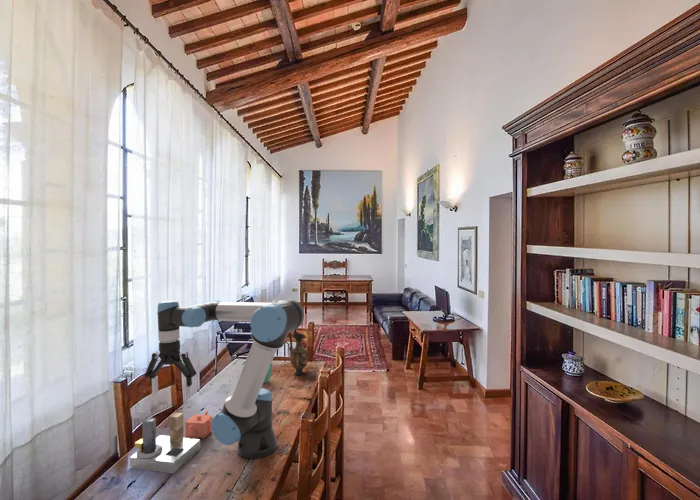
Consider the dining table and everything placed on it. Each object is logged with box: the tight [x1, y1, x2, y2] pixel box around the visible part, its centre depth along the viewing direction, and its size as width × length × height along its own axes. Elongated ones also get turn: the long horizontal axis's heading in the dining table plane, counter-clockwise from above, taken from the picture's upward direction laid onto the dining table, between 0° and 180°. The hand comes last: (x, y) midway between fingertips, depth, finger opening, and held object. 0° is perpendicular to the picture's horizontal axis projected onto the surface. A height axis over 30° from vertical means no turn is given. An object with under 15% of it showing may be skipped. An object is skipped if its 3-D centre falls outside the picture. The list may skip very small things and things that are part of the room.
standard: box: [134, 417, 162, 459], centre depth 139 cm, size 9×8×12 cm
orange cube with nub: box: [184, 410, 214, 440], centre depth 159 cm, size 12×15×8 cm
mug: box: [263, 362, 274, 384], centre depth 220 cm, size 15×10×10 cm
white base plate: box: [129, 434, 201, 474], centre depth 142 cm, size 18×16×4 cm
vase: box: [288, 328, 310, 377], centre depth 233 cm, size 12×12×30 cm
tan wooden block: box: [169, 412, 185, 443], centre depth 148 cm, size 4×4×10 cm
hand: (171, 394), depth 147 cm, fingers open, 13 cm apart
